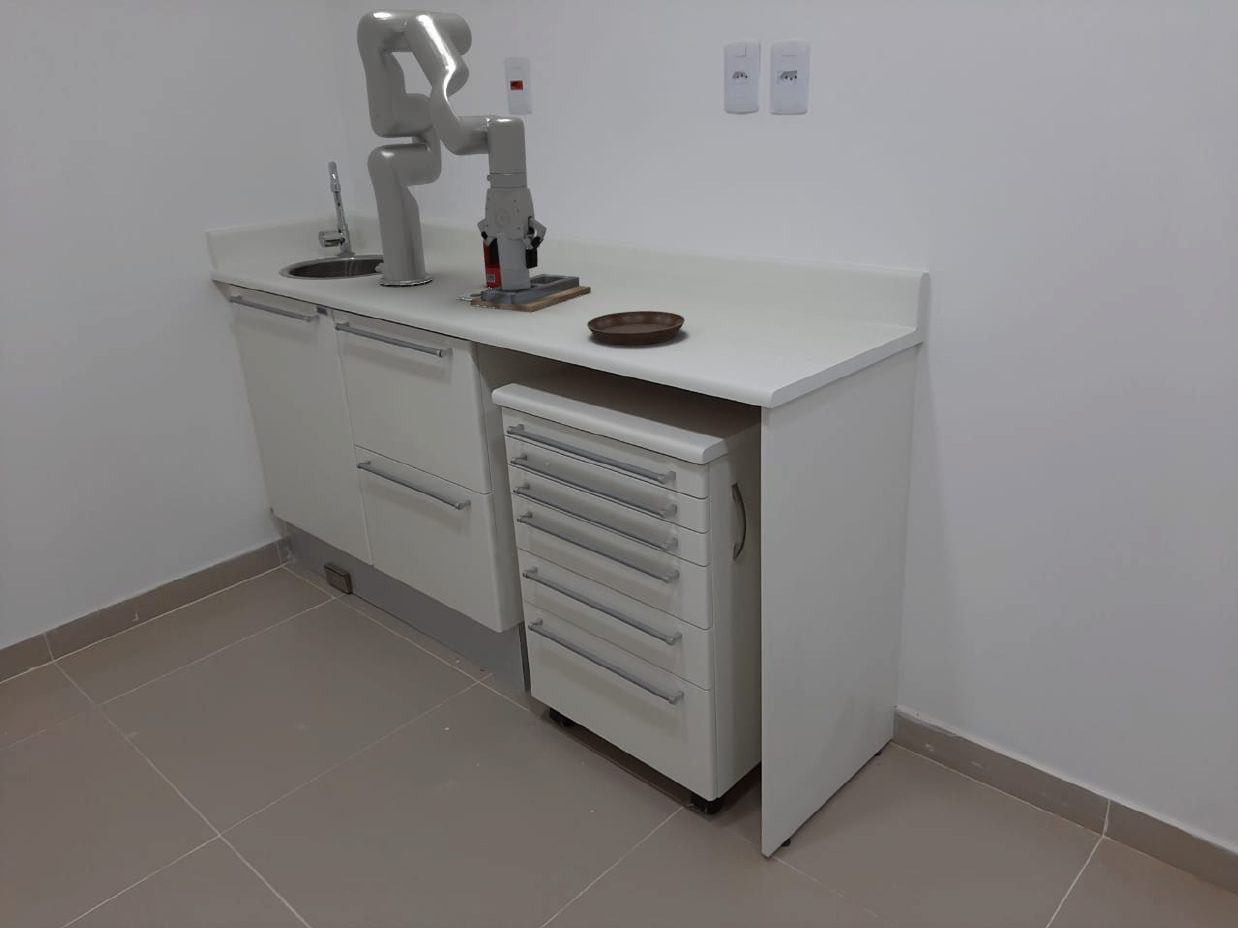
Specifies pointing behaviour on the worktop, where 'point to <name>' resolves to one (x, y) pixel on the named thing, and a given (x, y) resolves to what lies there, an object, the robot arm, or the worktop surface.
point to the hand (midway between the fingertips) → (513, 265)
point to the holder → (533, 293)
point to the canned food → (491, 270)
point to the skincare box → (512, 263)
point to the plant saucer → (636, 327)
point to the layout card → (472, 294)
